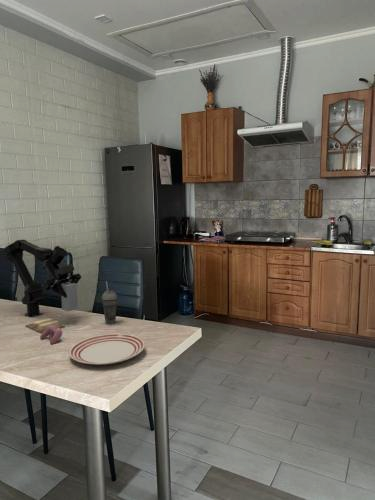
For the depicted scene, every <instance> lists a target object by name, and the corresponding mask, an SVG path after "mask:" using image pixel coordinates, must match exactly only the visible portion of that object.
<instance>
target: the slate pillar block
mask: <svg viewBox="0 0 375 500" xmlns="http://www.w3.org/2000/svg"><path fill="white" fill-rule="evenodd" d="M77 284H78V283H77ZM77 284H75V283H63V284H61V286H62V288H63V290H64V291H65V293H66V295H67V297H66V298H65V297H63V296H62V295H60V296H61V310H62V311H65V312H72V311H75V310H78V309H79V307H78V285H77Z"/></svg>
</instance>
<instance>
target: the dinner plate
mask: <svg viewBox="0 0 375 500" xmlns="http://www.w3.org/2000/svg"><path fill="white" fill-rule="evenodd" d="M145 347H146V344H145V341H144V340H143V339H142V338H140V337H138V336H136V335H134V334H133V335H132V334H126V333H107V334H100V335H95V336H94V335H93V336H91V337H88V338H84V339H83V340H80V341H79V342H77V343H75V344H74V345H73V346H71V347H70V349H69V352H68V354H69V357H70V358H71V359H72V360H73V361H75V362H78V363H80V364H81V363H82V364H87V365H97V366H99V365H101V366H102V365H112V364H116V363H117V364H118V363H122V362H125V361H127V360H130V359H133V358H134V357H136V356H138V355H139V354H140V353H141V352H143V350H145Z"/></svg>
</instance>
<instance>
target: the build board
mask: <svg viewBox="0 0 375 500" xmlns="http://www.w3.org/2000/svg"><path fill="white" fill-rule="evenodd" d="M53 325H54V326H58V327H59V328H60V329H63V328H65V325H64V324H60V323H59V321H58V320H55V319H52V318H50V317H48V318H44V319H41V320H37V321H34V322H33V321H32V323H29V324H26V325H25V328H27V329H30V330H32V331H35V332H37V333H39V334H42V333H43V332H44V331H45V330H46V328H47V327H49V326H53Z"/></svg>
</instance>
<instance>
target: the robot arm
mask: <svg viewBox="0 0 375 500" xmlns="http://www.w3.org/2000/svg"><path fill="white" fill-rule="evenodd" d="M24 252H27V253H28V254H30V255H33V256H34V259H35V260H36V261H38V262H39V263H40V262H41V263H42V262H45V263H43V266H42V269H43V270H47V271H48V273H49V278H48V279H47V278H46V280H45V281H44V283H43V284H40V282H39V283H36V282H35V280H34V279H33V277H32V274H31V273H30V271H29V269H28V267H27V265H26V262H25V260H24V259H23V258H24ZM2 254H3V255H4V256H5V259H6V260H8V261H9V262H10V263H12V264H13V266H14V268H15V270H16V273H17V275H18V277H19V278H20V280H21V282H22V284H23V286H24V291H23V294H24V296H22V299H21V303H22V305H25V306H26V313H24V316H27V317H30V318H31V317H32V318H33V317H35V316H40V315H43V312H40V302H43V301H44V295H45V292H47V291H50V292H54V293H56V294H58V295H60V296H61V295H62V296H63V297H65V298H66V297H67V295H66V293H65V291H64V290H63V288H62V286H61V284H66V283H75V284H78V282H79V281H80V280H81V279H82V275H81V274H80V273H79V272H78V273H73V271H75V267H74V265H73V264H68V265H64V266H62V267H61V266H60V264H62V263H63V261H65V259H66V258H67V256H68V251H67V250H66V249H64V248H63V247H60V245H56V246H54V248H53V249H51V248H50V247H49V248H48V247H41V246H38V245H37V244H33V243H31V242H30V241H27V240H26V239H24V238H22V239H16V240H15V241H14V242H13V243H11V244H8V245H7V246H5V247H4V248H3V253H2ZM71 273H72V274H71ZM70 274H71V275H70ZM69 276H70V277H69Z"/></svg>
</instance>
